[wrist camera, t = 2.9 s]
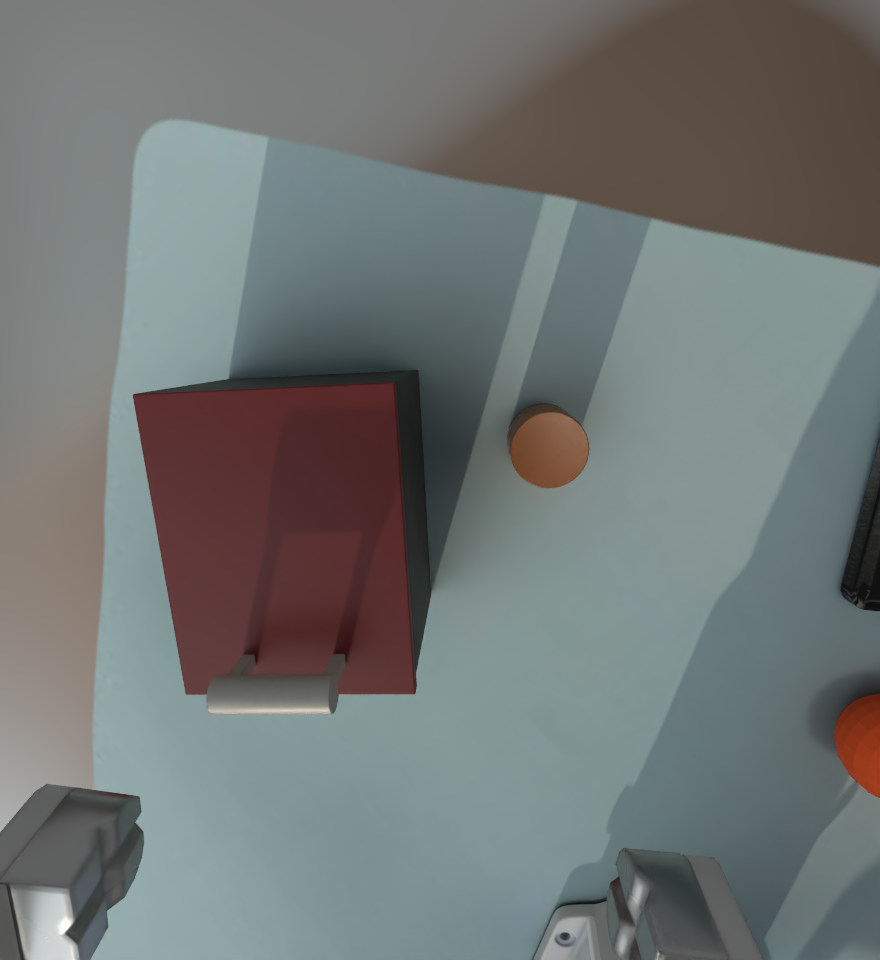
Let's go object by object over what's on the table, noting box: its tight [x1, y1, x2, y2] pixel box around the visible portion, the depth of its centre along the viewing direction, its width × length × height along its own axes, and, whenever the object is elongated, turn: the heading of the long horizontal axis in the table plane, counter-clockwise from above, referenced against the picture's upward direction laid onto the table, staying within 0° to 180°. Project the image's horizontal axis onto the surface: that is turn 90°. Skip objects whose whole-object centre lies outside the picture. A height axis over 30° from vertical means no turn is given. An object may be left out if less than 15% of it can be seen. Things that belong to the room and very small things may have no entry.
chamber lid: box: [133, 381, 417, 714], centre depth 28 cm, size 17×13×5 cm
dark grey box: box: [144, 370, 431, 670], centre depth 35 cm, size 16×13×10 cm
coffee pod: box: [507, 404, 589, 488], centre depth 36 cm, size 5×5×4 cm
